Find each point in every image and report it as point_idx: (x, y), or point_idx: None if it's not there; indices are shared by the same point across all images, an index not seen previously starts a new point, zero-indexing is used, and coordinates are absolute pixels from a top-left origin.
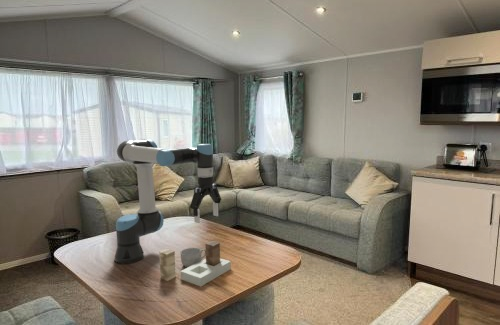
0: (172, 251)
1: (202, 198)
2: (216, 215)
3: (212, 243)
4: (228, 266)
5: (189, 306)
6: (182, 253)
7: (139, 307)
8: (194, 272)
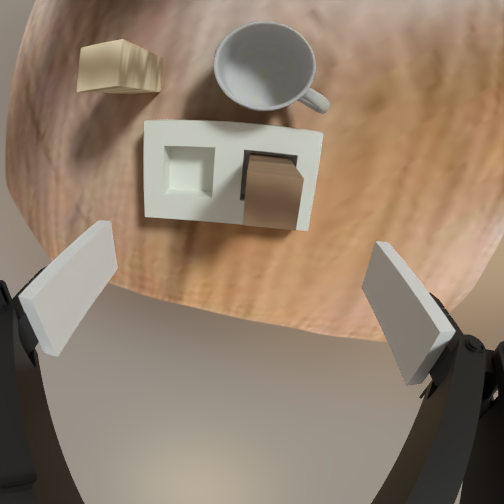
0: (108, 84)
1: (67, 488)
2: (366, 281)
3: (269, 203)
4: None
5: None
6: (254, 29)
7: (25, 157)
8: (162, 171)
